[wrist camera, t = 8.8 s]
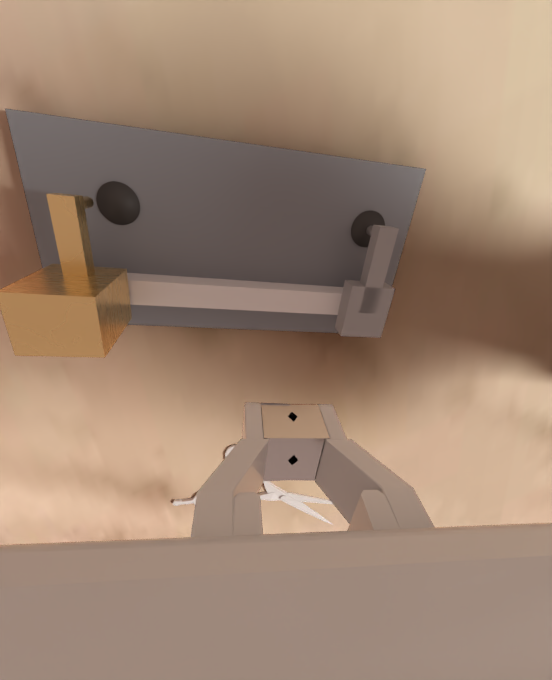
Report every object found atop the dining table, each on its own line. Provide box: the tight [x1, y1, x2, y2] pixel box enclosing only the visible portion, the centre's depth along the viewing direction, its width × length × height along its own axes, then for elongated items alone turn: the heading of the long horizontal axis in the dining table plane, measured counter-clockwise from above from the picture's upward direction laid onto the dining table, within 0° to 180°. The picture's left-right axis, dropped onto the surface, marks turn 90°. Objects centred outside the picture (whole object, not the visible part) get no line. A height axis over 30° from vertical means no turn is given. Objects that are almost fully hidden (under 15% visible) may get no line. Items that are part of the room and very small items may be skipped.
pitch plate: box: [5, 109, 426, 338], centre depth 20 cm, size 24×12×4 cm, turn 83°
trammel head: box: [0, 193, 132, 358], centre depth 16 cm, size 4×7×6 cm, turn 173°
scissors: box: [173, 444, 333, 524], centre depth 35 cm, size 11×1×20 cm
